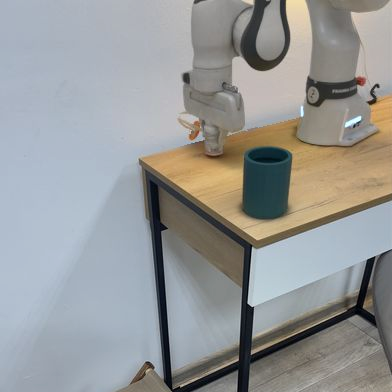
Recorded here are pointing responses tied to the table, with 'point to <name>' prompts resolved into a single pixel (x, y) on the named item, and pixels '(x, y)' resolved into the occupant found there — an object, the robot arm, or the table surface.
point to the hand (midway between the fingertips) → (214, 140)
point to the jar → (266, 182)
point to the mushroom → (193, 127)
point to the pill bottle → (212, 139)
